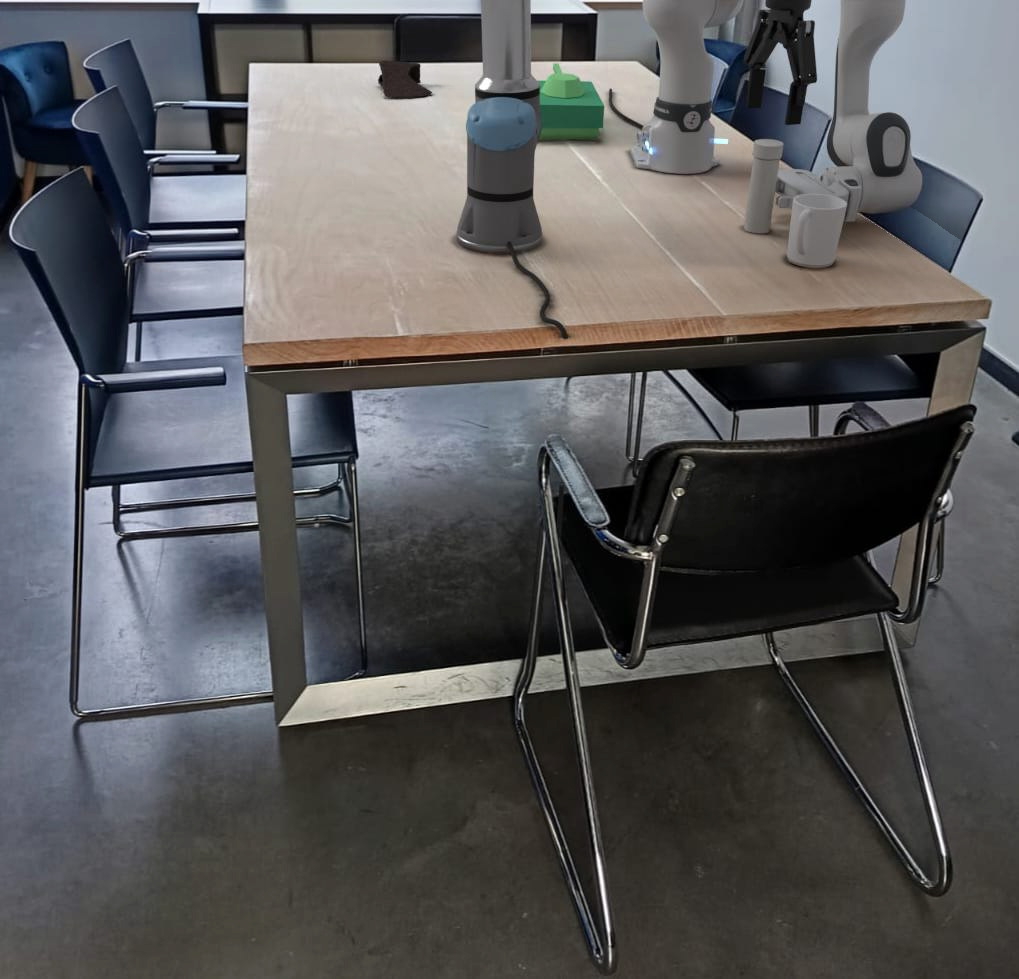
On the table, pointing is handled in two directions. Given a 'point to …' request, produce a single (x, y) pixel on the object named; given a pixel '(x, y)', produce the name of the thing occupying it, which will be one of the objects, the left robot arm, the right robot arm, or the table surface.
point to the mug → (815, 229)
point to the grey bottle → (761, 195)
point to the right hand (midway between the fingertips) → (766, 194)
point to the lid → (768, 149)
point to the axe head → (401, 79)
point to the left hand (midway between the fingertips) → (772, 115)
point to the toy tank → (569, 108)
